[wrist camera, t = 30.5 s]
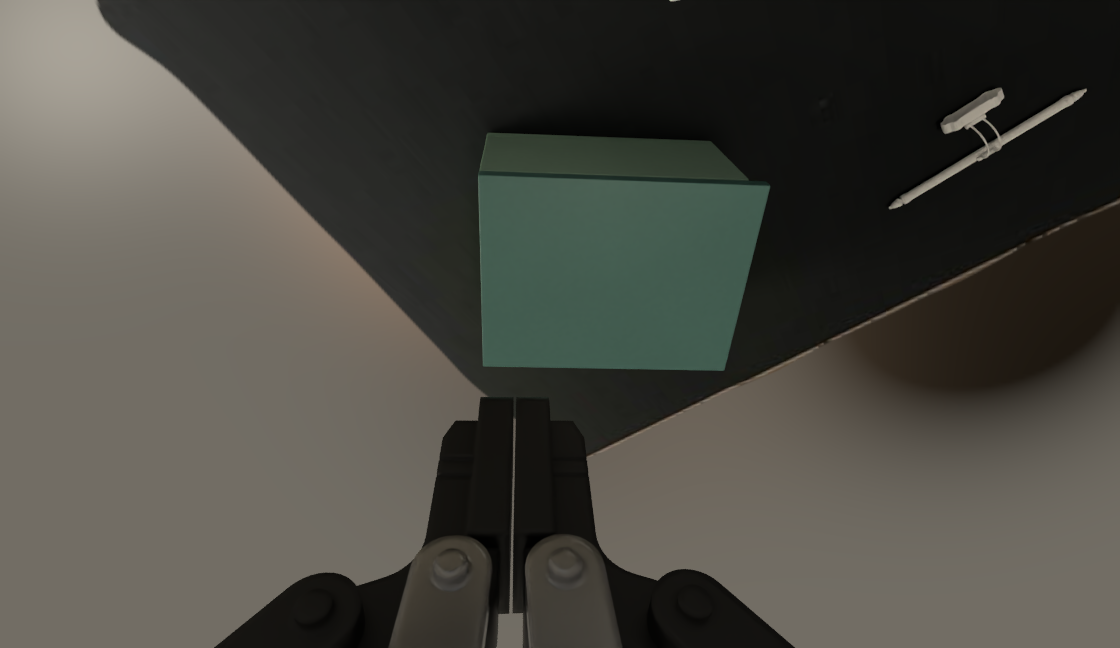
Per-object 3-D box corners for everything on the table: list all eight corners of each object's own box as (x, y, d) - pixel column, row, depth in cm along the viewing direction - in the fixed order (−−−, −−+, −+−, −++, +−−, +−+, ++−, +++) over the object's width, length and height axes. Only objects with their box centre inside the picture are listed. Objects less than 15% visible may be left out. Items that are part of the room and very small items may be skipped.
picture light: (888, 210, 44) (903, 220, 42) (867, 165, 42) (882, 174, 40) (1082, 93, 40) (1108, 99, 38) (1070, 37, 38) (1097, 41, 36)
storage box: (710, 140, 41) (749, 179, 34) (680, 302, 48) (707, 361, 41) (487, 132, 40) (479, 170, 33) (490, 298, 47) (483, 359, 40)
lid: (766, 181, 34) (770, 185, 33) (721, 364, 41) (724, 370, 40) (479, 170, 33) (478, 175, 32) (483, 359, 40) (483, 366, 39)
